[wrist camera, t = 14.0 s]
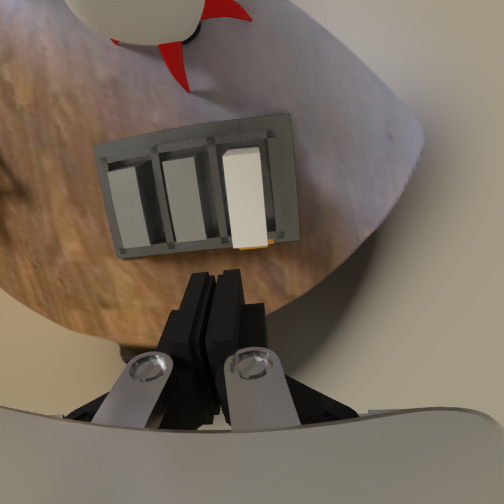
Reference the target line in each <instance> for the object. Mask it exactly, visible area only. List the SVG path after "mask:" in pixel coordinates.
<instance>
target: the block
mask: <svg viewBox="0 0 504 504" xmlns="http://www.w3.org/2000/svg"><path fill="white" fill-rule="evenodd" d="M222 158H223V167H224V175H225V184H226V192H227V201H228V209H229V218H230V226H231V234H232V242H233V248H244V247H255V246H267V245H268V241H267V229H266V217H265V206H264V194H263V183H262V172H261V161H260V151H259V146H248V147H238V148H229V149H228V151H227V152H226V153H225V154H224V155H223V156H222Z"/></svg>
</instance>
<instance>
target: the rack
mask: <svg viewBox="0 0 504 504" xmlns="http://www.w3.org/2000/svg"><path fill="white" fill-rule="evenodd" d="M248 146H259V151H260V161H261V172H262V183H263V194H264V206H265V217H266V229H267V241H268V244H274V243H278V242H288V241H298V240H300V229H299V213H298V199H297V186H296V173H295V161H294V150H293V139H292V128H291V118H290V114H285V115H272V116H261V117H251V118H242V119H233V120H225V121H218V122H211V123H204V124H197V125H191V126H185V127H179V128H173V129H168V130H162V131H157V132H152V133H147V134H142V135H138V136H133V137H128V138H124V139H120V140H115V141H111V142H107V143H103V144H99V145H95V146H93V147H94V153H95V159H96V164H97V170H98V175H99V180H100V186H101V190H102V195H103V200H104V205H105V209H106V214H107V218H108V222H109V226H110V231H111V235H112V239H113V242H114V246H115V250H116V254H117V258H118V259H120V258H130V257H139V256H149V255H158V254H168V253H178V252H188V251H197V250H207V249H217V248H227V247H233V242H232V234H231V226H230V218H229V209H228V201H227V192H226V184H225V175H224V167H223V158H222V156H223V155H224V154H225V153H226V152H227V151H228V149H229V148H238V147H248ZM265 247H268V245H267V246H255V247H244V248H239V250H245V249H255V248H265Z"/></svg>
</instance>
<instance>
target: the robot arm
mask: <svg viewBox="0 0 504 504" xmlns="http://www.w3.org/2000/svg"><path fill="white" fill-rule="evenodd" d="M220 405H221V407H222V411H223V414H224V416H225V420H226V423H228V424H229V425H230V426H231V428H232V430H198V428H199V427H200V426H202V425H203V424H204V425H208V424H213V419H214V415H219V413H220ZM0 504H504V428H503V427H502V426H501V425H500V424H499V423H498V422H497V421H496V420H495V419H493V418H492V417H490V416H489V415H487V414H485V413H482V412H480V411H476V410H472V409H466V408H456V407H427V408H413V409H391V410H390V409H389V410H368V414H357V413H356V411H354V410H353V409H351V408H350V407H348V406H346V405H344V404H342V403H340V402H338V401H336V400H334V399H332V398H330V397H328V396H326V395H324V394H322V393H319V392H318V391H316V390H314V389H312V388H310V387H308V386H306V385H304V384H302V383H300V382H298V381H296V380H294V379H293V378H291V377H289V376H287V375H285V374H284V373H283V370H282V367H281V364H280V361H279V358H278V357H277V355H276V354H275V353H274V352H272V351H271V350H269V349H268V336H267V325H266V316H265V307H264V303H256V304H245V301H244V294H243V287H242V280H241V273H240V269H233V270H224V272H223V275H218V278H217V283H216V281H215V277H214V275H213V276H209V273H208V272H201V273H192V275H191V277H190V280H189V283H188V286H187V288H186V291H185V294H184V297H183V299H182V302H181V305H180V308H179V310H172V311H171V312H170V315H169V317H168V320H167V322H166V325H165V328H164V330H163V333H162V336H161V338H160V341H159V344H158V346H157V349H156V352H148V353H143V354H141V355H139V356H136V357H135V358H134V359H132V360H131V361H130V362H129V363H128V364H127V365H126V367H125V369H124V370H123V372H122V373H121V375H120V376H119V378H118V379H117V381H116V382H115V384H114V386H113V387H112V389H111V390H110V392H108V393H106V394H104V395H102V396H100V397H98V398H97V399H95V400H93V401H91V402H89V403H87V404H85V405H84V406H82V407H80V408H78V409H76V410H74V411H73V412H71V413H70V414H69V415H67V416H66V417H65V416H64V415H43V414H38V413H32V412H28V411H23V410H18V409H13V408H8V407H4V406H0Z"/></svg>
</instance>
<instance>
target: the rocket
mask: <svg viewBox="0 0 504 504" xmlns="http://www.w3.org/2000/svg"><path fill="white" fill-rule="evenodd" d="M64 1H65V2H66V4H67V6H68V7H69V8H70V10H71V11H72V12H73V13H74V15H75V16H76V17H77V18H78V19H80V20H81V21H82V22H83V23H84V24H85V25H86V26H88V27H89V28H91V29H93V30H94V31H96V32H97V33H99V34H102V35H104V36H106V37H109V38H110V39H111V40H112V41H113V43H114V44H118V43H119V42H120V41H121V42H126V43H131V44H138V45H158V48H159V50H160V53H161V55H162V57H163V59H164V61H165V63H166V65H167V67H168V69H169V70H170V72H171V74H172V75H173V76H174V78H175V79H176V80H177V81H178V83H179V84H180V85H181V86H182V87H183V88H184V89H185V90H186V91H187V92H188V93H189V92H190V90H189V86H188V82H187V78H186V74H185V69H184V64H183V55H182V45H185V44H187V43H189V42H191V41H192V40H193V39H194V38H195V37H196V36H197V35H198V33H199V31H200V27H201V22H200V20H203V19H209V18H217V17H231V18H237V19H242V20H247V21H252V19H251V18H250V16H249V15H248V14H247V12H246V11H245V10H244V9H243V8H242V7H241V6H240V5H239V4H238V3H237V2H235V1H233V0H64Z"/></svg>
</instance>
